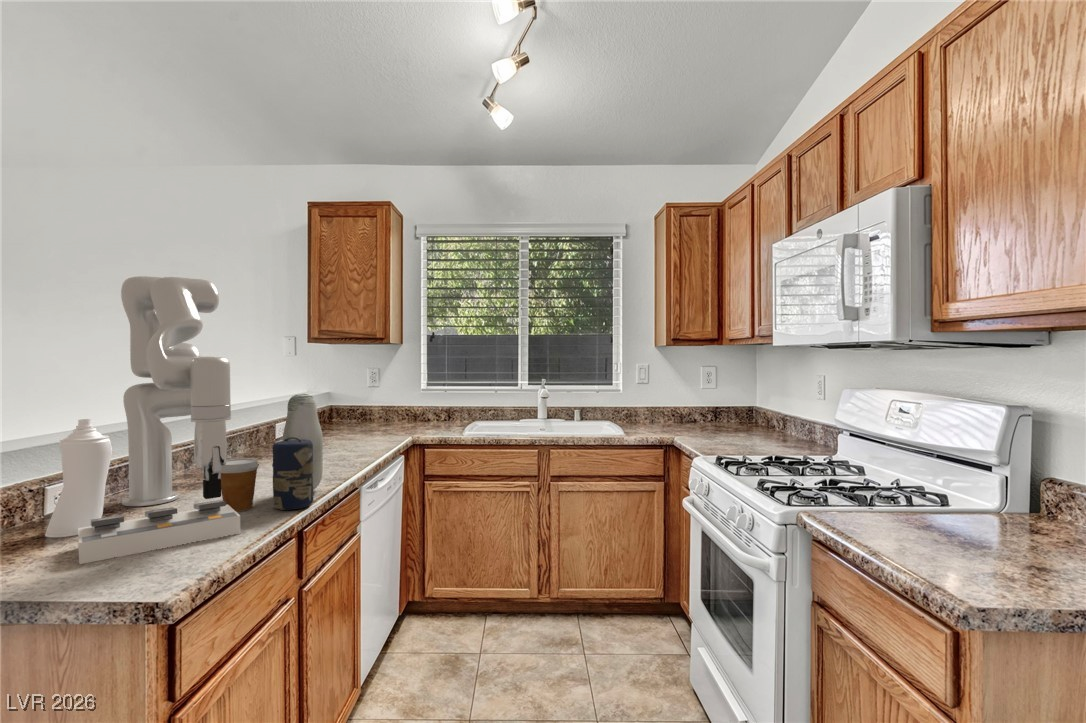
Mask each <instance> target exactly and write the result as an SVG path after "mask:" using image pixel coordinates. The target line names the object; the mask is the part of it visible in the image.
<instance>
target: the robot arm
mask: <svg viewBox="0 0 1086 723" xmlns="http://www.w3.org/2000/svg"><path fill="white" fill-rule="evenodd" d="M120 290H121V291H120V294H121V295H120V297H121V302H122V305H123V309H124V312H125V314H126V316H127V319H128V322H129V329H130V331H129V332H130V335H129V338H130V339H129V340H130V341H129V346H130V349H129V351H130V356H129V357H130V358H129V360H130V369H131V372H132V373H133V375H134V376H136V377H138V378H145V379H147V378H148V379H151V380H152V382H145V383H137V384H134V385H131V386H130V387H128V388H127V389H125V391H124V393H123V407H124V412H125V416H126V417H125V418H126V422H127V436H128V437H127V440H128V441H127V442H128V443H127V444H128V496H126V497H124V498H122V500H121V505H122V506H125V507H146V506H156V505H161V504H165V503H170V502H173V501H175V500H177V499H179V498H180V493H179V492H178V491H173V456H172V455H173V453H172V450H173V448H172V445H173V444H172V442H173V441H172V433H171V430H170V429H169V428H168V427H167V425H165V424H164V423H163V422H162V420H161V419H166V418H177V417H188V416H190V422H192V423H193V422H194V423H195V425H194V439H193V463H194V464H195V465H196V466H197V467H199V468H200V469H202V474H203V475H202V476H203V480H202V497H203V498H204V499H205V500H209V499H217V498H221V497H222V491H221V466H224V465H225V464H226V461H227V460H228V448H227V446H228V444H227V442H228V441H227V423H226V422H227V421H230V420H231V419H232V418H231V417H232V414H231V413H232V410H231V408H232V407H231V406H232V405H231V363H230V360H229V359H227V358H226V357H223V356H222V357H219V356H217V357H215V356H201V354H200V351H199V349H198V347H196V346H195V345H194V344H193V343H188V342H187V341H190V340H192V339H194V338H196V337H197V336H198V335H199V334H200V333H201V332H202V330H203V321H202V317H201V316H200V313H203V314H211V313H213V312H215V311H217V310H216V309H218V306H219V303H220V295H219V292H218V289H217V287H216V285H214V283H212V282H211V281H209V280H207V279H198V278H189V277H179V276H164V277H163V276H162V277H159V276H147V275H146V276H144V275H143V276H141V275H140V276H132V277H128V278H127V279H125V280H124V281H123V283H122V286H121V289H120Z"/></svg>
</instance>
